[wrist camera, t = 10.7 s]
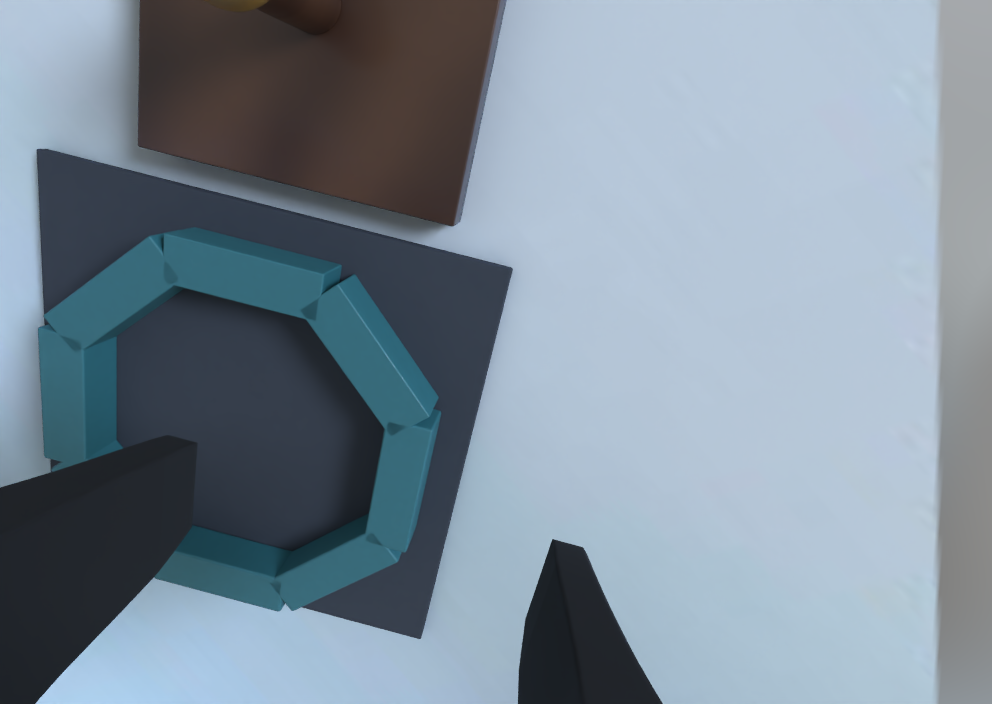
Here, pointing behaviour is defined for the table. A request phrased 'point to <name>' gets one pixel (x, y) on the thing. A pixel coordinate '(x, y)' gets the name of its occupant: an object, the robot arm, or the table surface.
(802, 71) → the table surface
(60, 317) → the ring
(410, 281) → the mat
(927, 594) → the table surface
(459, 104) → the peg stand
